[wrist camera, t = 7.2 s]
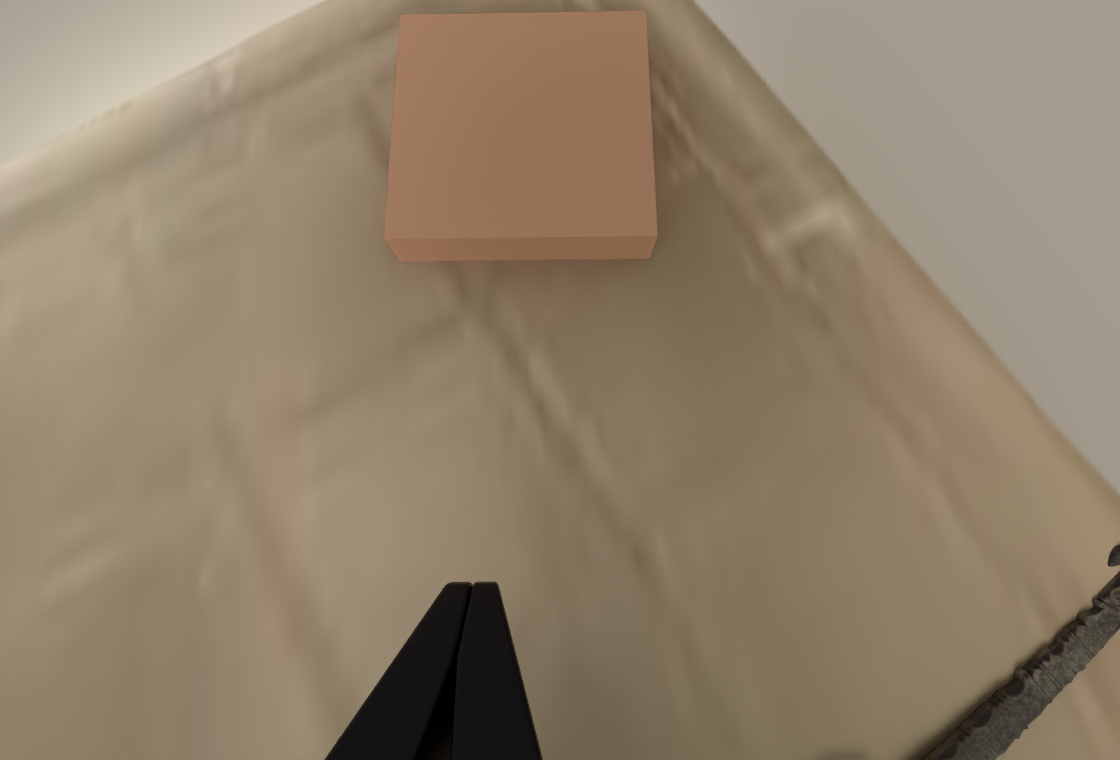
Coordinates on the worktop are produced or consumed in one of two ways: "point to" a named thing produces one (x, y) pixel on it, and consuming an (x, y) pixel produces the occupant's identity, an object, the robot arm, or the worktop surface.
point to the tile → (522, 138)
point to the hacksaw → (1036, 681)
